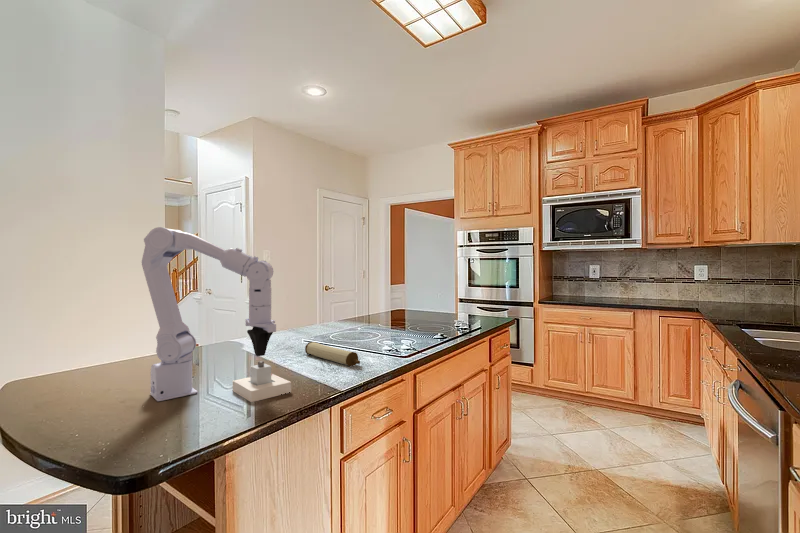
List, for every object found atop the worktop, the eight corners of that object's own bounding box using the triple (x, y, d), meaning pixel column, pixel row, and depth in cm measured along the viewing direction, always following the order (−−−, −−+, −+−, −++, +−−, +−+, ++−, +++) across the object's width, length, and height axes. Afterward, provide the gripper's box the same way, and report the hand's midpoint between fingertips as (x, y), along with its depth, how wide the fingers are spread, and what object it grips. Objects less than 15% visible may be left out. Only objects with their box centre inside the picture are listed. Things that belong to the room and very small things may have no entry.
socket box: (251, 402, 99) (251, 389, 99) (232, 390, 108) (232, 379, 108) (291, 392, 107) (291, 380, 107) (270, 382, 116) (270, 371, 116)
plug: (257, 395, 104) (257, 364, 104) (250, 391, 107) (250, 361, 107) (271, 391, 107) (271, 361, 107) (264, 388, 110) (264, 359, 110)
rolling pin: (299, 354, 151) (299, 341, 151) (312, 351, 155) (312, 339, 155) (353, 370, 129) (353, 355, 129) (366, 367, 133) (366, 352, 133)
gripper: (286, 306, 105) (286, 357, 105) (262, 302, 115) (262, 348, 115) (261, 308, 100) (261, 362, 100) (238, 304, 110) (238, 352, 110)
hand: (260, 355), depth 107 cm, fingers closed
